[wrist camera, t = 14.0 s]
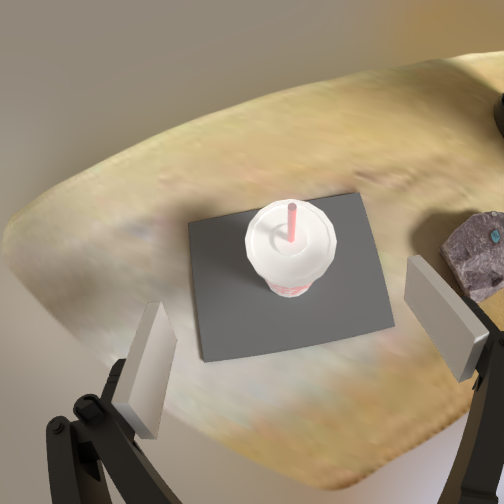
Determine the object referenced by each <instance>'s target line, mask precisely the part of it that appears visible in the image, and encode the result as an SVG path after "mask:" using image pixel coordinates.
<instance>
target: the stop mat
mask: <svg viewBox="0 0 504 504" xmlns="http://www.w3.org/2000/svg"><path fill="white" fill-rule="evenodd" d="M304 202H309V203H310V204H312V205H314V206H315V207H317V208H318V209H320V210H321V211H323V212H324V214H325V215H326V216H327V218H328V219H329V220H330V222H331V223H332V224H333V227H334V232H335V236H336V240H337V244H336V249H335V255H334V259H333V261H332V262H331V264H330V265H329V267H328V268H327V270H326V271H325V273H324V274H323V275H322V276H321V277H319V278H318V279H316V280H315V281H314V282H313V283H312V284H311V286H310V287H309V288H308V290H307V291H305V292H304V293H302V294H301V295H299V296H295V297H289V298H288V297H284V296H279V295H278V294H276V293H275V292H274V291H272V290H271V289H270V287H269V285H268V284H267V282H266V280H265V279H264V278H263V277H261V276H260V275H259V274H258V273H257V272H256V270H255V269H254V267H253V265H252V264H251V262H250V261H249V259H248V257H247V251H246V244H245V237H246V233H247V230H248V226H249V223H250V222H251V220H252V219H253V218H254V217H255V215H256V214H257V213H258V212H259V210H261V209H258V210H252V211H247V212H242V213H236V214H231V215H226V216H221V217H216V218H211V219H206V220H201V221H196V222H191V223H188V227H189V238H190V249H191V260H192V269H193V279H194V288H195V297H196V305H197V313H198V321H199V329H200V337H201V344H202V351H203V358H204V363H205V362H213V361H221V360H229V359H236V358H243V357H250V356H257V355H263V354H269V353H275V352H281V351H287V350H292V349H297V348H303V347H308V346H313V345H318V344H323V343H327V342H332V341H337V340H341V339H346V338H350V337H354V336H359V335H363V334H367V333H371V332H375V331H379V330H383V329H386V328H390V327H394V326H395V324H394V319H393V314H392V310H391V305H390V301H389V296H388V292H387V288H386V284H385V279H384V275H383V271H382V268H381V264H380V260H379V256H378V252H377V249H376V245H375V242H374V238H373V235H372V231H371V228H370V225H369V221H368V218H367V215H366V212H365V208H364V205H363V202H362V199H361V196H360V193H352V194H346V195H340V196H333V197H327V198H321V199H315V200H309V201H304Z"/></svg>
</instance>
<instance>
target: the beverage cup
mask: <svg viewBox="0 0 504 504" xmlns="http://www.w3.org/2000/svg"><path fill="white" fill-rule="evenodd" d="M245 244H246V251H247V257H248V259H249V261H250V262H251V264H252V265H253V267H254V269H255V270H256V272H257V273H258V274H259V275H260V276H261V277H263V278H264V279H265V280H266V282H267V284H268V285H269V287H270V289H271V290H272V291H274V292H275V293H276V294H278V295H279V296H284V297H288V298H289V297H295V296H299V295H301V294H302V293H304V292H305V291H307V290H308V288H309V287H310V286H311V284H312V283H313V282H314V281H315V280H316V279H318V278H319V277H321V276H322V275H323V274H324V273H325V271H326V270H327V268H328V267H329V265H330V264H331V262H332V261H333V259H334V255H335V249H336V244H337V240H336V236H335V232H334V227H333V224H332V223H331V222H330V220H329V219H328V218H327V216H326V215H325V214H324V212H323V211H321V210H320V209H318V208H317V207H315V206H314V205H312V204H310V203H309V202H304V201H299V200H294V199H288V200H281V201H275V202H273V203H271V204H269V205H268V206H266V207H264V208H263V209H261V210H259V212H258V213H257V214H256V215H255V217H254V218H253V219H252V220H251V222H250V223H249V226H248V230H247V233H246V237H245Z"/></svg>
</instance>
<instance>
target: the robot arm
mask: <svg viewBox="0 0 504 504" xmlns="http://www.w3.org/2000/svg"><path fill="white" fill-rule="evenodd" d="M494 116H495V120H496V123H497V125H498V127H499V129H500V131H501V133H502V135H503V137H504V93H503V94H502V95H501V96H500V97H499V99H498V101H497V102H496V104H495V106H494ZM404 300H405V301H406V303H407V304H408V306H409V307H410V309H411V310H412V311H413V313H414V314H415V316H416V317H417V319H418V320H419V322H420V323H421V325H422V326H423V328H424V329H425V331H426V332H427V334H428V335H429V337H430V338H431V340H432V341H433V343H434V345H435V346H436V348H437V349H438V351H439V352H440V354H441V356H442V357H443V359H444V360H445V362H446V364H447V365H448V367H449V369H450V370H451V372H452V373H453V375H454V377H455V378H456V380H457V382H458V383H460V382H462V381H464V380H467V379H469V378H471V377H472V375H473V373H474V370H475V369H476V370H477V372H478V373H479V375H478V377H477V380H476V382H475V384H474V386H473V388H472V390H474V389H475V390H474V395H473V399H472V403H471V408H470V411H469V416H468V420H467V423H466V426H465V430H464V433H463V437H462V440H461V443H460V446H459V449H458V452H457V455H456V458H455V461H454V463H453V466H452V469H451V472H450V474H449V477H448V479H447V482H446V484H445V487H444V489H443V491H442V494H441V496H440V498H439V500H438V503H437V504H498V497H497V496H496V490H497V486H498V483H499V480H500V476H501V472H502V469H503V464H504V331H500V330H499V329H498V327H497V326H496V325H495V324H494V323H493V322H492V320H491V319H490V318H489V317H488V316H487V315H486V314H485V313H484V311H483V310H482V309H481V308H480V307H479V306H478V305H477V303H476V302H475V301H474V300H472V299H470V298H469V297H467V296H462V297H459V296H458V295H457V294H456V293H455V291H454V290H453V289H452V288H451V287H450V286H449V285H448V284H447V283H446V282H445V281H444V279H443V278H442V277H441V276H440V275H439V274H438V273H437V272H436V271H435V270H434V269H433V268H432V267H431V266H430V265H429V264H428V263H427V262H426V261H425V260H424V259H423V258H422V257H421V256H420V255H415V256H411V257H408V259H407V273H406V284H405V294H404ZM176 343H177V338H176V336H175V334H174V331H173V329H172V326H171V324H170V322H169V319H168V317H167V314H166V312H165V310H164V307H163V305H162V302H161V301H159V302H152V303H148V304H147V307H146V309H145V312H144V314H143V317H142V319H141V322H140V324H139V327H138V329H137V332H136V335H135V337H134V340H133V342H132V345H131V348H130V350H129V353H128V356H127V359H118V361H117V362H116V363H115V364H114V365H113V366H112V369H111V371H110V374H109V377H108V379H107V383H106V384H105V387H104V390H103V392H102V395H101V398H100V399H99V398H98V396H97V395H94V394H86V395H84V396H82V397H80V398H79V399H78V400H77V401H76V403H75V404H74V408H73V412H74V414H75V415H76V417H77V418H78V419H79V420H77V421H73V422H70V421H69V420H68V419H67V418H66V417H64V416H57V417H55V418H53V419H52V420H51V421H50V422H49V423H48V425H47V428H46V443H47V460H48V472H49V481H50V490H51V497H52V504H112V501H111V498H110V494H109V491H108V487H107V483H106V479H105V475H104V471H103V467H102V463H103V464H104V466H105V468H106V470H107V472H108V474H109V475H110V477H111V479H112V481H113V482H114V484H115V486H116V488H117V489H118V491H119V493H120V494H121V496H122V498H123V499H124V501H125V502H126V504H182V502H181V501H180V500H179V499H178V498H177V497H176V495H175V494H174V493H173V492H172V491H171V489H170V488H169V487H168V485H167V484H166V483H165V482H164V480H163V479H162V478H161V476H160V475H159V474H158V472H157V471H156V470H155V468H154V467H153V466H152V464H151V463H150V461H149V460H148V459H147V457H146V456H145V455H144V453H143V452H142V450H141V449H140V447H139V446H138V444H137V443H136V442H135V440H134V436H135V433H136V434H137V435H138V436H139V437H140V438H141V439H157V435H158V430H159V424H160V419H161V414H162V409H163V404H164V399H165V394H166V389H167V384H168V380H169V375H170V370H171V366H172V361H173V357H174V352H175V348H176ZM101 461H102V462H101Z"/></svg>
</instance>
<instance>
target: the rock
mask: <svg viewBox="0 0 504 504" xmlns="http://www.w3.org/2000/svg"><path fill="white" fill-rule="evenodd" d="M439 252H440V254H441V255H442V256H443V258H444V259H445V260H446V262H447V264H448V266H449V267H450V269H451V270H452V272H453V274H454V276H455V278H456V281H457V282H458V284H459V286H460V288H461V289H462V291H463V293H464V295H465V296H467V297H469V298H470V299H472V300H474V301H475V302H476V303H479V302H482V301H483V300H484V299H486V298H488V297H490V296H491V295H493V294H494V293H496V292H497V291H498V290H500V289H502V288H503V287H504V213H502V212H496V211H491V212H484V213H482V214H474V215H472V216H470V217H469V218H468V219H467V220H466V221H465V222H464V223H462V224H461V225H460V226H459V227H458V228H457V229H455V230H454V231H453V232H452V233H451V234H450V235H449V237H448V238H447V240H446V241H445V242H444V243H443V244H442V245H441V246H440V249H439Z"/></svg>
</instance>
